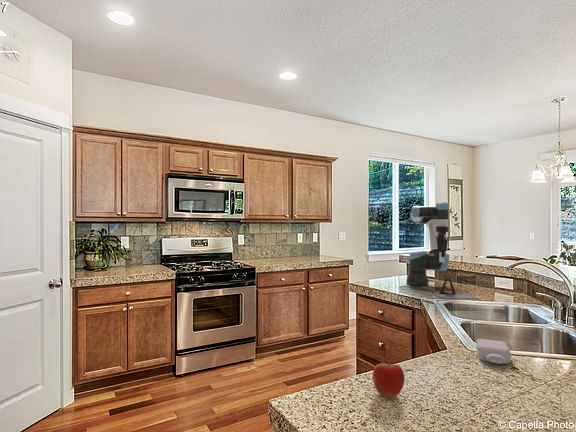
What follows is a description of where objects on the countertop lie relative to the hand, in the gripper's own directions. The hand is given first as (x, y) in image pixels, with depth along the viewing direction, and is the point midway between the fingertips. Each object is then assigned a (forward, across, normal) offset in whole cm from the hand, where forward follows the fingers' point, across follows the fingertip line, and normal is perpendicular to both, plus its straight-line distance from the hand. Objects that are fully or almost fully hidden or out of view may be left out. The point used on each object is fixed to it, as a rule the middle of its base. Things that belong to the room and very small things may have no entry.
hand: (441, 262), depth 241 cm
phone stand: (+19, +8, 0) cm, 21 cm away
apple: (+20, +139, -82) cm, 163 cm away
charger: (+20, +116, -38) cm, 124 cm away
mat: (+19, +18, 0) cm, 26 cm away
